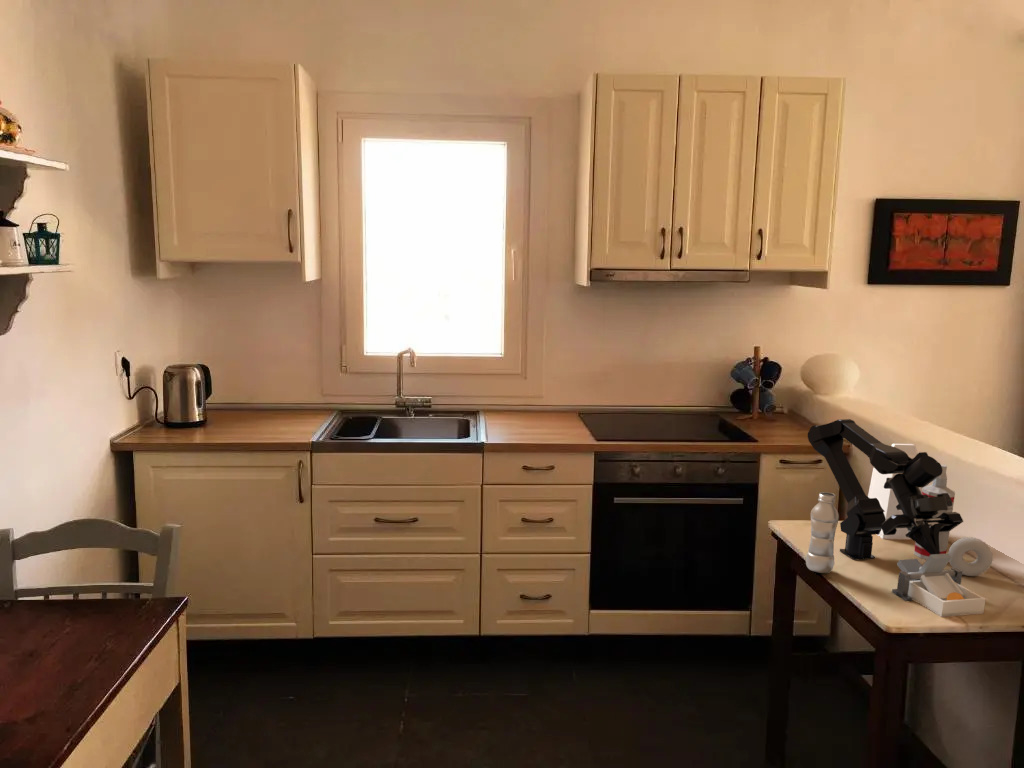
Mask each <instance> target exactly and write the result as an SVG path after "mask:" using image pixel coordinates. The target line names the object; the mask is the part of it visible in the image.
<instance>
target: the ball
mask: <svg viewBox="0 0 1024 768" xmlns="http://www.w3.org/2000/svg"><path fill="white" fill-rule="evenodd" d="M960 599H964V598H963V596H962V595H961V594H959V593H956V592H953V593H950V594H949V595H948V596H947V600H960Z"/></svg>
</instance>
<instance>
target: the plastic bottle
mask: <svg viewBox="0 0 1024 768" xmlns="http://www.w3.org/2000/svg"><path fill="white" fill-rule="evenodd" d="M817 501H818V503H817V504H816V505H814V506H813V507H812V509H811V511H810V539H809V544H808V551H807V552H806V553H807V554H806V557H805V565H806V567H807V569H808V570H809V571H812V572H815V573H818V574H829V573H831V572H832V571H833V569H834V566H835V555H834V551H835V550H834V548H835V546H834V544H835V542H834V541H835V537H836V531H837V527H838V523H839V519H840V514H839V512H838V510H837V508H836V506H835V504H836V494H834V493H833V492H828V491H827V492H826V491H822V492H821V491H820V492H819V493H818V498H817Z"/></svg>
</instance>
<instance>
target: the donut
mask: <svg viewBox="0 0 1024 768" xmlns="http://www.w3.org/2000/svg"><path fill="white" fill-rule="evenodd" d="M971 551H972V552H974V553H975V554H976V559H975V560H974V561H972V562H971V561H970V562H969V561H965V559H964V555H965V554H966V553H967V552H971ZM948 553H949V554H950V556H951V557H952V558H951V559H950V561H949V562H948V563H949V565H950V566H951V568H957V569H959V570H961V571H963V572H962V576H967V577H976V576H980V575H982V574H984V573H986V572H987V571H988V570H989V568H991V566H992V564H993V561H994V559H993V551H992V550H991V547H990V546H989V545H988V544H987V543H986V542H985V541H983V540H982V539H980V538H976V537H973V536H969V537H968V536H967V537H966V536H964V537H962V538H959V539H957V540H955V541H954V542H953V543H952V544H951V546H950V547H949V549H948V551H947V554H948Z"/></svg>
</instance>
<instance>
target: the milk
mask: <svg viewBox="0 0 1024 768" xmlns="http://www.w3.org/2000/svg"><path fill="white" fill-rule="evenodd" d="M891 446H892V447H896V448H898V449H900V450H902V451H904V452H905V453H906V454H907V455H908V457H910V458H912V459H913V458H914V457H915V456H916V455H917V454H918V453H919V452H918V451H917V448H916V445H915V444H913V443H892V444H891ZM872 467H873V466H872ZM897 474H899V473H897ZM901 474H902V473H901ZM895 475H896V474H881V473H879V472H878V471H877V470H876V469H875V468H874V467H873V468H872V473H871V478H870V483H869V487H868V488H869V489H868V492H867V493H868V494H867V497H869V498H877V499H878V501H879V503H880V505H881V507H882V509H883V510H884V511H885V512H883V513H884V515H885V518H886V520H887V519H888V518H889V517H891V516H892V515H902V514H903V512H902V510H897V508H896V506H897V505H898V504H899V503H898V501H897V499H896V497H895V495H894V492H893V490H892V489H885V488H884V484H885V482H886V479H887V478H892V477H894V476H895ZM926 486H929V484H928V485H926ZM919 489H920V491H921V493H922V489H923V487H922V488H921V487H919ZM886 520H885V521H886ZM896 530H897V531H896V533H895V534H894V535H884V533H883V531H882V529H881V531H880V534H879V535H877V536H878V537H879V536H880V537H879V538H880V539H882V540H912V539H911V538H909V537H906V536H905V535H906V534H907V533H908V529H907V528H896Z"/></svg>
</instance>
